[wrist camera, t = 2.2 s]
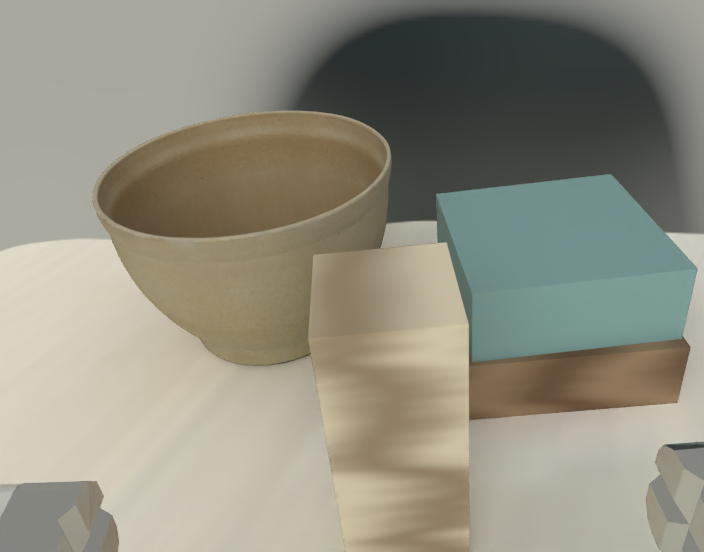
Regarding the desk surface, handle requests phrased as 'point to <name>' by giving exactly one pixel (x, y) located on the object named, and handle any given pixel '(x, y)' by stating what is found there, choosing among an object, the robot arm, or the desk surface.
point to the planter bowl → (245, 222)
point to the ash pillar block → (394, 395)
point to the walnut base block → (578, 380)
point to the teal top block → (562, 268)
